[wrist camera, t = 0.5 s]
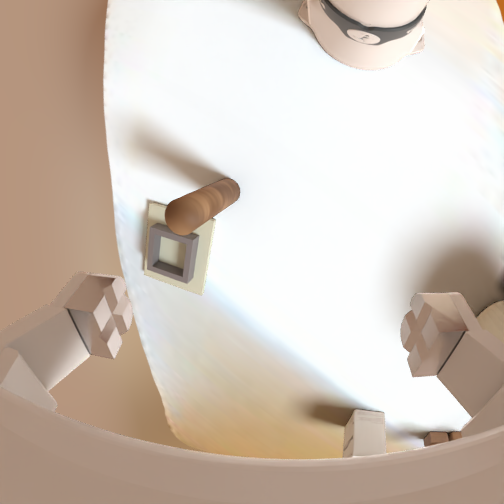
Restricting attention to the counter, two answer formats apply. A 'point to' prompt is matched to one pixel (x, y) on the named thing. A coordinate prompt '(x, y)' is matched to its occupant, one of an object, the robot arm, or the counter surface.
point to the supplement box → (364, 434)
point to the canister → (493, 320)
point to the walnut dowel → (200, 206)
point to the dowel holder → (177, 252)
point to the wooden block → (440, 438)
